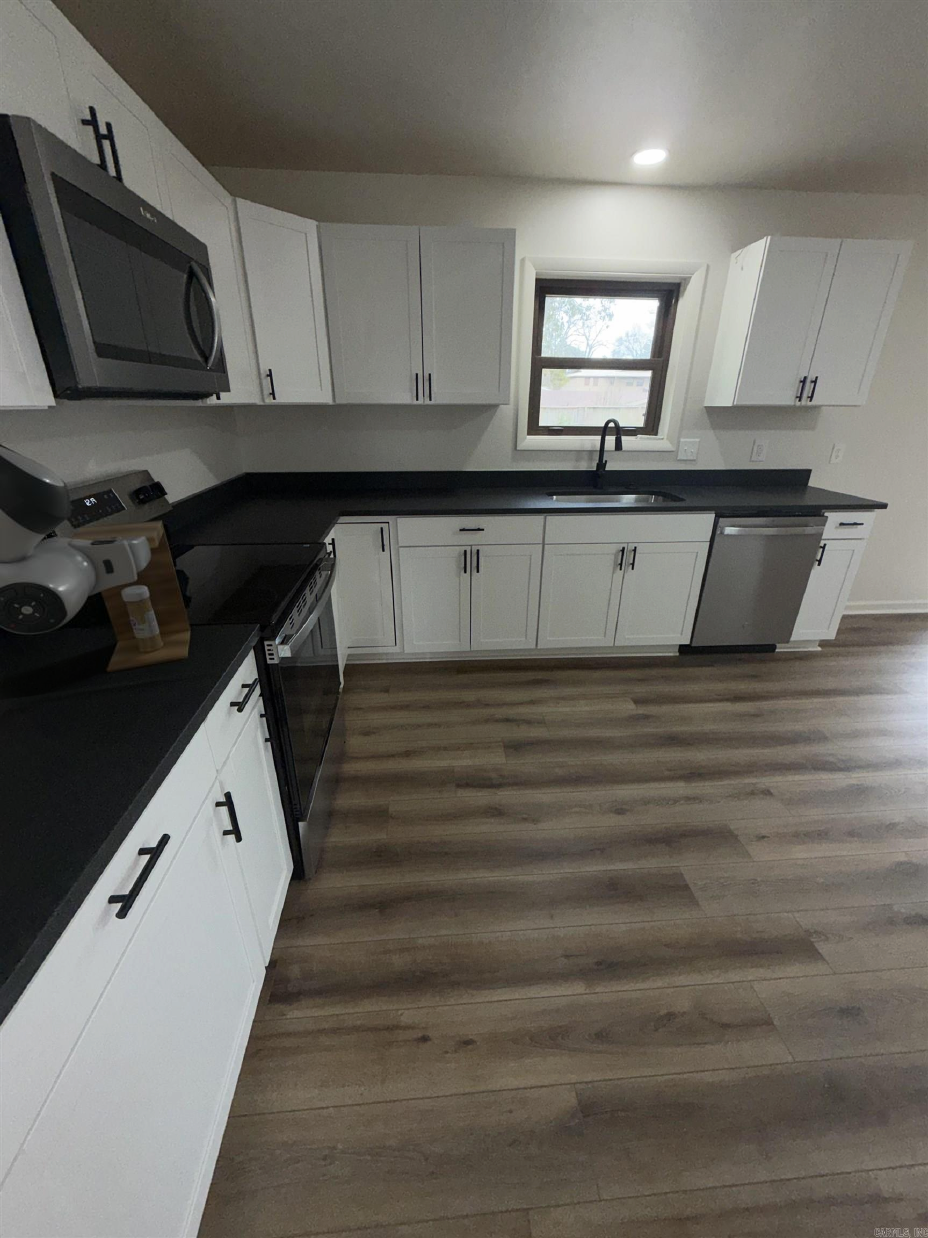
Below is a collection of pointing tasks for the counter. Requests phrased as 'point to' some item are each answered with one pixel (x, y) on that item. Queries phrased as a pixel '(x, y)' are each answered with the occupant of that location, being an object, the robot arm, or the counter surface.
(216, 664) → the counter surface
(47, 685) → the counter surface
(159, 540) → the shelf
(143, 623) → the sprinkles bottle
